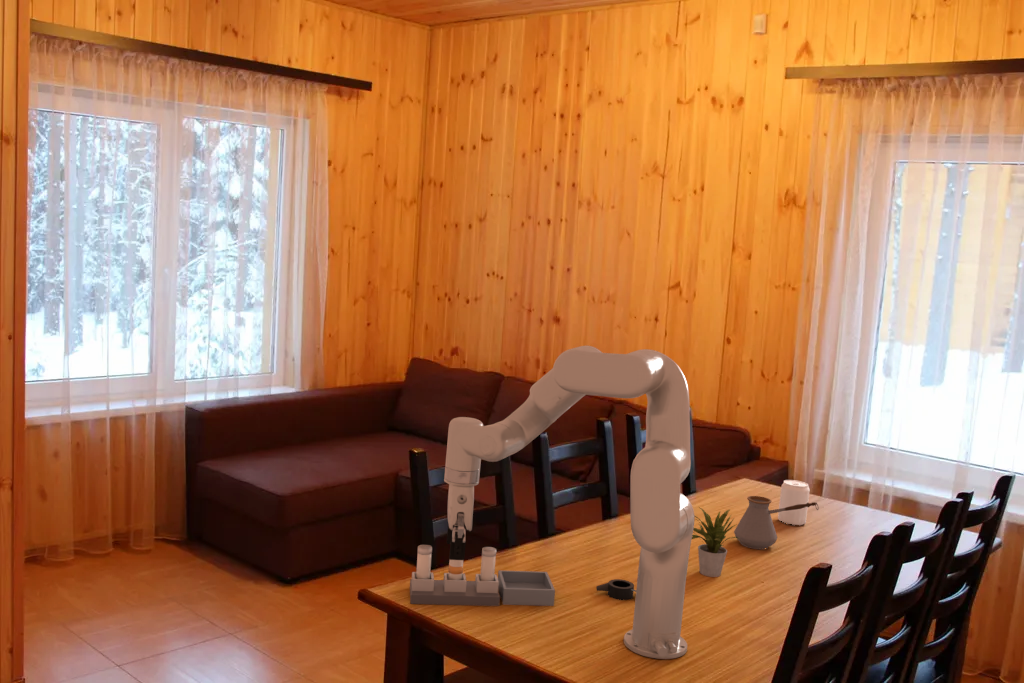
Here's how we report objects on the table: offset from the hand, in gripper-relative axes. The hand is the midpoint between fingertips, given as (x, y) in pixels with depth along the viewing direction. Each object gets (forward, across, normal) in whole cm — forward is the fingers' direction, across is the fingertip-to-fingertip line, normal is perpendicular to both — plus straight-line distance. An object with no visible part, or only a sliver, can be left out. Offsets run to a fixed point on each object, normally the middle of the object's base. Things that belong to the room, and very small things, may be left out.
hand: (455, 551), depth 213 cm
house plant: (+10, +21, -66) cm, 69 cm away
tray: (+10, +2, -17) cm, 19 cm away
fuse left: (+8, 0, +6) cm, 11 cm away
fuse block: (+10, 0, -1) cm, 10 cm away
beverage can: (+9, +65, -106) cm, 124 cm away
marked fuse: (+8, 0, 0) cm, 8 cm away
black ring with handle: (+10, +3, -39) cm, 40 cm away
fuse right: (+8, 0, -8) cm, 11 cm away
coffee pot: (+9, +40, -90) cm, 98 cm away
